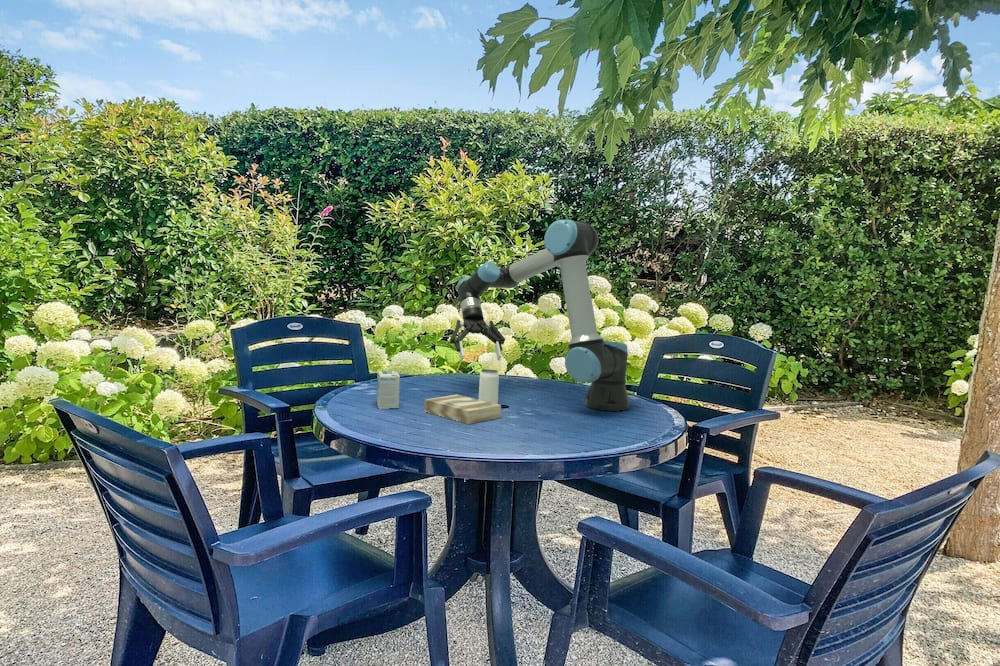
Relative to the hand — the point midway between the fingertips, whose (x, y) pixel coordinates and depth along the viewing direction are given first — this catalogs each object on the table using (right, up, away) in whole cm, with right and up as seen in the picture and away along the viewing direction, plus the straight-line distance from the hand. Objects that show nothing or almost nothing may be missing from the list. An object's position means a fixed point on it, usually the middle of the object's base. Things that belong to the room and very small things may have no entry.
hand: (481, 358), depth 214 cm
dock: (-5, -17, -23) cm, 29 cm away
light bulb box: (-30, -15, -14) cm, 37 cm away
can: (+3, -16, -9) cm, 18 cm away
